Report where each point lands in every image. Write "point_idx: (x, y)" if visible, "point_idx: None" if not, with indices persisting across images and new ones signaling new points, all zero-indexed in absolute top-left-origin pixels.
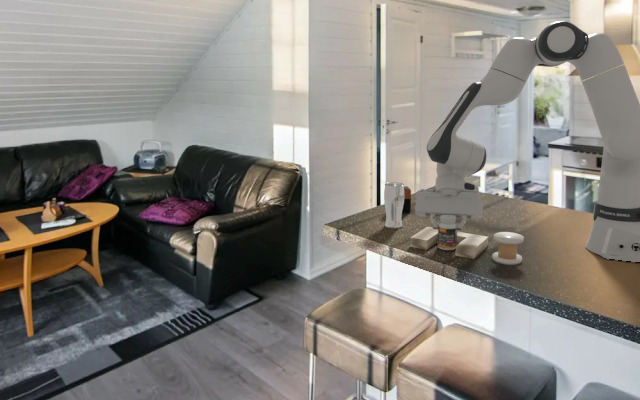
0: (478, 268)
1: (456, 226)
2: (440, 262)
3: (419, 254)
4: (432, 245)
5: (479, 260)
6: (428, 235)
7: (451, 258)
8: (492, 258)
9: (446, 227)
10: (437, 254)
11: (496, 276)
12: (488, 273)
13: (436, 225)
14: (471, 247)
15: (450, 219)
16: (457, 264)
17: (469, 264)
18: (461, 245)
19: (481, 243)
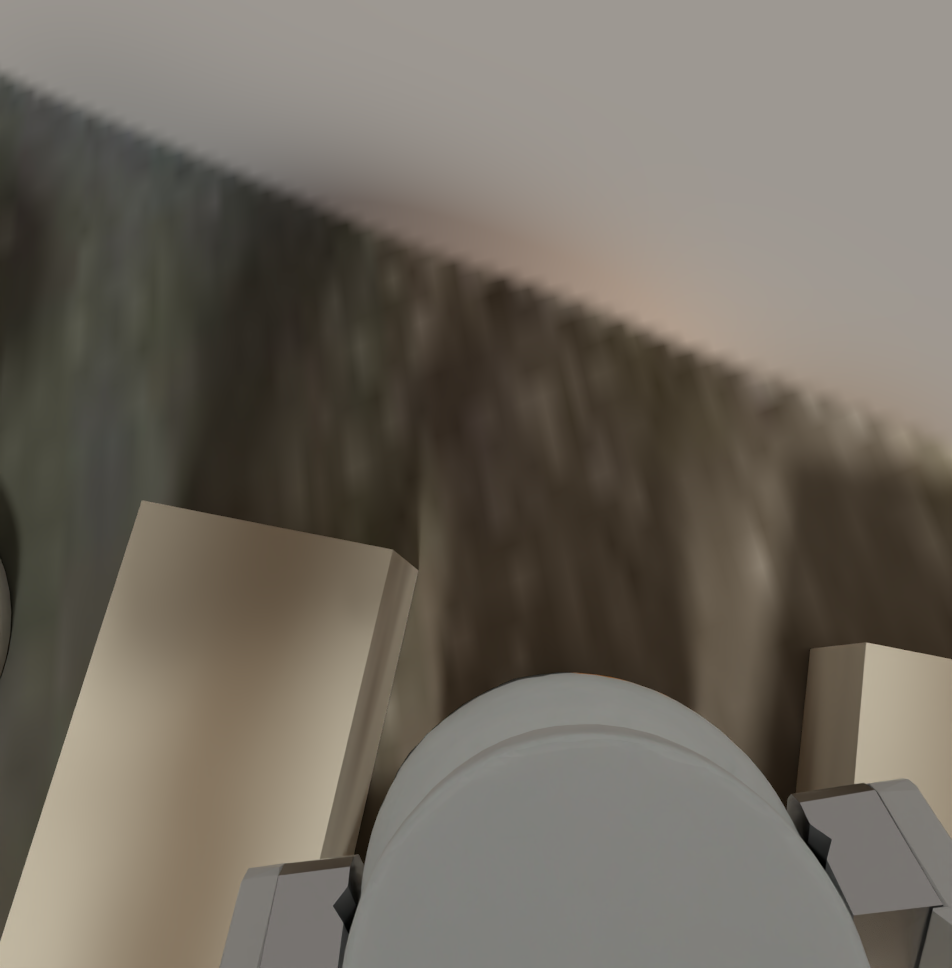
0: (160, 288)
1: (367, 851)
2: (542, 300)
3: (841, 451)
4: None
5: None
6: None
7: (449, 459)
8: (4, 596)
9: (572, 684)
10: (632, 531)
11: (13, 172)
12: (75, 209)
13: (843, 811)
14: (181, 553)
15: (481, 754)
16: (364, 312)
17: (247, 357)
18: (318, 589)
19: (46, 808)
